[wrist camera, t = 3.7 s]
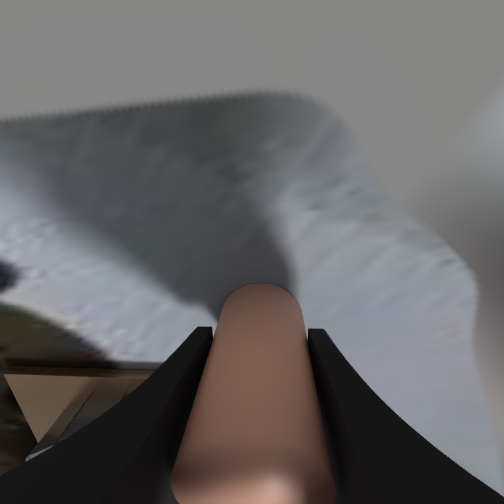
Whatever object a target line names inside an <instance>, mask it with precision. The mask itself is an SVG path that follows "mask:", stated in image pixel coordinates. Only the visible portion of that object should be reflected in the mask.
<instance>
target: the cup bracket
mask: <svg viewBox="0 0 504 504" xmlns="http://www.w3.org/2000/svg"><path fill="white" fill-rule="evenodd" d="M155 371H156V370H133V369H101V368H68V367H36V366H13V367H11V368H10V369H9V370H8V371H7V372H5V373H4V376H5V378H6V380H7V382H8V384H9V386H10V388H11V390H12V392H13V394H14V396H15V398H16V400H17V402H18V404H19V406H20V408H21V410H22V412H23V414H24V416H25V418H26V420H27V422H28V424H29V426H30V428H31V430H32V432H33V434H34V436H35V438H36V440H37V442H38V444H37V445H36V446H35V448H34V449H33V450H32V451H31V453H30V454H29V455H28V457H27V458H26V461H28V460H29V459H31V458H33V457H35V456H37V455H38V454H40V453H42V452H44V451H46V450H47V449H49V448H51V447H52V446H54V445H56V444H57V443H59V442H61V441H62V440H64V439H65V438H67V437H69V436H70V435H72V434H74V433H75V432H77V431H78V430H80V429H81V428H83V427H84V426H86V425H87V424H89V423H90V422H92V421H93V420H95V419H96V418H98V417H99V416H100V415H102V414H103V413H104V412H106V411H107V410H109V409H110V408H111V407H113V406H114V405H116V404H117V403H118V402H120V401H121V400H122V399H124V398H125V397H126V396H127V395H129V394H130V393H131V392H132V391H133V390H135V389H136V388H137V387H138V386H139V385H140V384H142V383H143V382H144V381H145V380H146V379H147V378H148V377H149V376H150V375H151V374H153V373H154V372H155Z"/></svg>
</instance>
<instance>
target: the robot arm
mask: <svg viewBox="0 0 504 504" xmlns="http://www.w3.org/2000/svg"><path fill="white" fill-rule="evenodd" d="M212 341H213V333H212V327H197V328H196V329H195V330H194V331H193V332H192V333H191V334H190V335H189V336H188V338H187V339H186V340H185V341H184V342H183V343H182V344H181V345H180V346H179V347H178V349H177V350H176V351H175V352H174V353H173V354H172V355H171V356H170V357H169V358H168V359H167V360H166V361H165V362H164V363H163V364H162V365H161V366H160V367H159V368H158V369H157V370H156V371H155V372H154V373H153V374H151V375H150V376H149V377H148V378H147V379H146V380H145V381H144V382H143V383H142V384H140V385H139V386H138V387H137V388H136V389H135V390H133V391H132V392H131V393H130V394H129V395H127V396H126V397H125V398H124V399H122V400H121V401H120V402H118V403H117V404H116V405H114V406H113V407H111V408H110V409H109V410H107V411H106V412H104V413H103V414H102V415H100V416H99V417H98V418H96V419H95V420H93V421H92V422H90V423H89V424H87V425H86V426H84V427H83V428H81V429H80V430H78V431H77V432H75V433H74V434H72V435H70V436H69V437H67V438H65V439H64V440H62V441H61V442H59V443H57V444H56V445H54V446H52V447H51V448H49V449H47V450H46V451H44V452H42V453H40V454H38V455H37V456H35V457H33V458H31V459H29V460H28V461H26V462H24V463H22V464H20V465H19V466H17V467H15V468H13V469H11V470H10V471H8V472H6V473H4V474H2V475H1V477H0V504H179V503H178V501H177V500H176V498H175V496H174V494H173V491H172V488H171V475H172V471H173V468H174V465H175V462H176V458H177V455H178V452H179V448H180V445H181V442H182V439H183V435H184V432H185V429H186V426H187V422H188V419H189V416H190V412H191V409H192V406H193V403H194V399H195V396H196V393H197V390H198V386H199V383H200V380H201V377H202V373H203V370H204V367H205V363H206V360H207V357H208V354H209V350H210V347H211V344H212ZM308 347H309V352H310V357H311V363H312V368H313V373H314V379H315V384H316V389H317V395H318V400H319V405H320V411H321V416H322V421H323V427H324V432H325V438H326V443H327V448H328V454H329V459H330V464H331V470H332V475H333V480H334V486H335V491H336V500H335V503H334V504H504V497H503V496H502V495H500V494H499V493H497V492H496V491H494V490H493V489H492V488H490V487H489V486H487V485H486V484H484V483H483V482H481V481H480V480H479V479H477V478H476V477H474V476H473V475H471V474H470V473H469V472H467V471H466V470H464V469H463V468H462V467H460V466H459V465H458V464H457V463H455V462H454V461H453V460H451V459H450V458H449V457H447V456H446V455H445V454H443V453H442V452H441V451H439V450H438V449H437V448H436V447H434V446H433V445H432V444H431V443H430V442H428V441H427V440H426V439H425V438H424V437H422V436H421V435H420V434H419V433H418V432H416V431H415V430H414V429H413V428H412V427H411V426H409V425H408V424H407V423H406V422H405V421H404V420H402V419H401V418H400V417H399V416H398V415H397V414H396V413H395V412H394V411H393V410H392V409H391V408H390V407H389V406H388V405H387V404H386V403H385V402H384V401H383V400H382V399H381V398H380V397H379V396H378V395H377V394H376V393H375V392H374V391H373V390H372V389H371V388H370V387H369V386H368V385H367V384H366V382H365V381H364V380H363V379H362V378H361V377H360V376H359V374H358V373H357V372H356V371H355V370H354V369H353V367H352V366H351V365H350V364H349V362H348V361H347V360H346V359H345V357H344V356H343V355H342V353H341V352H340V351H339V349H338V348H337V347H336V345H335V344H334V343H333V341H332V340H331V338H330V337H329V335H328V334H327V332H326V331H325V330H324V329H308Z"/></svg>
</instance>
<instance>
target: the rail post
mask: <svg viewBox="0 0 504 504" xmlns="http://www.w3.org/2000/svg"><path fill="white" fill-rule="evenodd" d="M171 488H172V491H173V494H174V496H175V498H176V500H177V501H178V503H179V504H334V503H335V500H336V491H335V486H334V480H333V475H332V470H331V464H330V459H329V454H328V448H327V443H326V438H325V432H324V427H323V421H322V416H321V411H320V405H319V400H318V395H317V389H316V384H315V379H314V373H313V368H312V363H311V357H310V352H309V347H308V341H307V336H306V331H305V325H304V320H303V315H302V310H301V307H300V305H299V303H298V301H297V300H296V299H295V298H294V297H293V296H292V294H290V293H289V292H288V291H286V290H285V289H283V288H281V287H278V286H276V285H272V284H267V283H254V284H249V285H246V286H243V287H241V288H239V289H237V290H235V291H234V292H233V293H232V294H231V295H230V296H229V297H228V298H227V300H226V301H225V303H224V305H223V308H222V311H221V314H220V318H219V321H218V324H217V327H216V331H215V334H214V337H213V341H212V344H211V347H210V350H209V354H208V357H207V360H206V363H205V367H204V370H203V373H202V377H201V380H200V383H199V386H198V390H197V393H196V396H195V399H194V403H193V406H192V409H191V412H190V416H189V419H188V422H187V426H186V429H185V432H184V435H183V439H182V442H181V445H180V448H179V452H178V455H177V458H176V462H175V465H174V468H173V471H172V475H171Z"/></svg>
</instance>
